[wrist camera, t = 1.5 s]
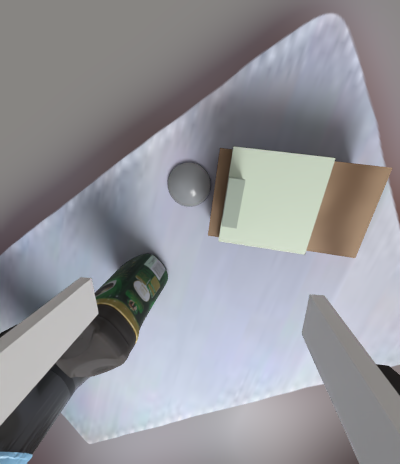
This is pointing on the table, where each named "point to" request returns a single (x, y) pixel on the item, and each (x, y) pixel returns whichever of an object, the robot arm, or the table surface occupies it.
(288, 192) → the cover
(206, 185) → the grey round disc
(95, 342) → the coffee jar
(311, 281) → the table surface
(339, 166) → the brown and beige stand
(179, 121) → the table surface
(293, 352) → the table surface
